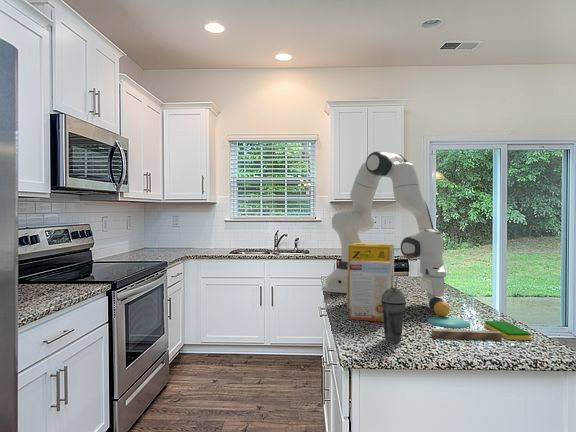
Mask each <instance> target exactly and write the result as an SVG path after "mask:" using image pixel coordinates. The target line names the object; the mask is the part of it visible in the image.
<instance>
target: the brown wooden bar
mask: <svg viewBox="0 0 576 432" xmlns="http://www.w3.org/2000/svg"><path fill="white" fill-rule="evenodd" d="M431 336H432V337H433V338H436V339H437V338H439V339H463V340H465V339H467V340H490V341H491V340H492V341H494V340H496V341H503V340H502V333H500V332H499V331H492V330H469V329H468V330H467V329H466V330H465V329H463V330H462V329H439V328H438V329H437V328H435V329H434V328H431Z"/></svg>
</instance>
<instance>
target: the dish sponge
mask: <svg viewBox="0 0 576 432" xmlns="http://www.w3.org/2000/svg"><path fill="white" fill-rule="evenodd" d="M484 328H487V329H488V330H489V331H499V332H500V333H502V337H503V338H505V339H506V340H511V341H512V340H515V341H517V340H519V341H520V340H521V341H526V340H527V341H529V340H531V333H530V332H528V331H526V330H524V329H523V328H520V327H518V326H516V325H513V324H512V323H509V322H508V321H506V320H485V321H484Z"/></svg>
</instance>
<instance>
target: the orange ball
mask: <svg viewBox="0 0 576 432" xmlns="http://www.w3.org/2000/svg"><path fill="white" fill-rule="evenodd" d="M450 310H451V309H450V305H449V304H448V303H447V302H445V301H443V302H442V301H440V302H437V303H436V304H435V305H434V314H436V315H437V317H448V315H449V313H450V312H451V311H450Z"/></svg>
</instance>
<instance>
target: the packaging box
mask: <svg viewBox="0 0 576 432" xmlns="http://www.w3.org/2000/svg"><path fill="white" fill-rule="evenodd" d="M352 260H370V261H390V262H391V288H395V283H394V282H395V244H393V243H371V242H370V243H369V242H367V243H366V242H362V243H354V244H351V245H348V281H347V293H346V296H347V297H346V298H347V299H346V302H347V303H346V305H347V306H346V308H347V309H350V261H352Z"/></svg>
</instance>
